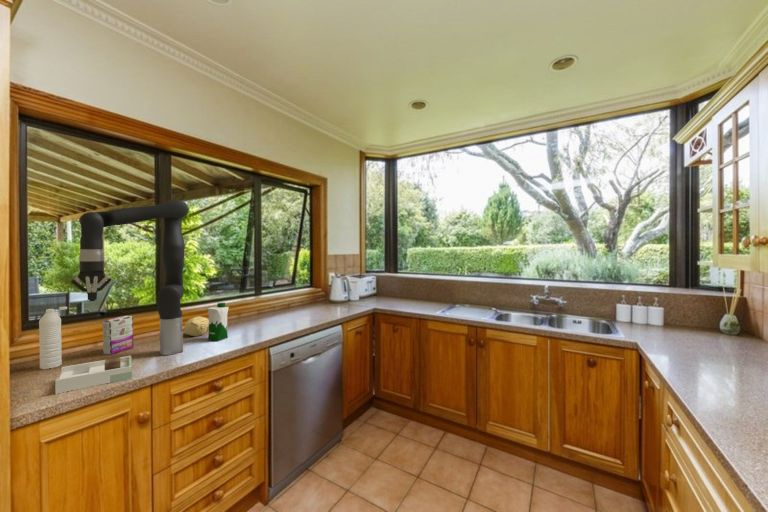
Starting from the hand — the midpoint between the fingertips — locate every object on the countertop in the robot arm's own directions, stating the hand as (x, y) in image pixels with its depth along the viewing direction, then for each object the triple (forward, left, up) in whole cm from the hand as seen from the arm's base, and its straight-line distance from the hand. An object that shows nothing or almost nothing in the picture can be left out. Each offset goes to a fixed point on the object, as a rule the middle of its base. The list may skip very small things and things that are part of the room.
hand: (92, 301), depth 131 cm
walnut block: (-7, +18, -26) cm, 32 cm away
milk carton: (-51, -15, -29) cm, 61 cm away
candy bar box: (-8, -22, -29) cm, 37 cm away
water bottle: (+13, -14, -29) cm, 35 cm away
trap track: (-2, +14, -29) cm, 32 cm away
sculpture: (-43, -31, -29) cm, 61 cm away
